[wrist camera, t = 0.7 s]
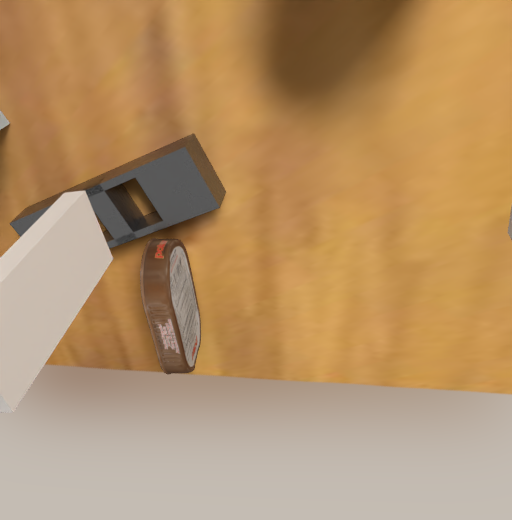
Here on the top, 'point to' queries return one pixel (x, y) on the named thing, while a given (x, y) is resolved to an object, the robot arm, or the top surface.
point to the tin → (171, 304)
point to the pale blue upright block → (3, 121)
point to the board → (156, 188)
